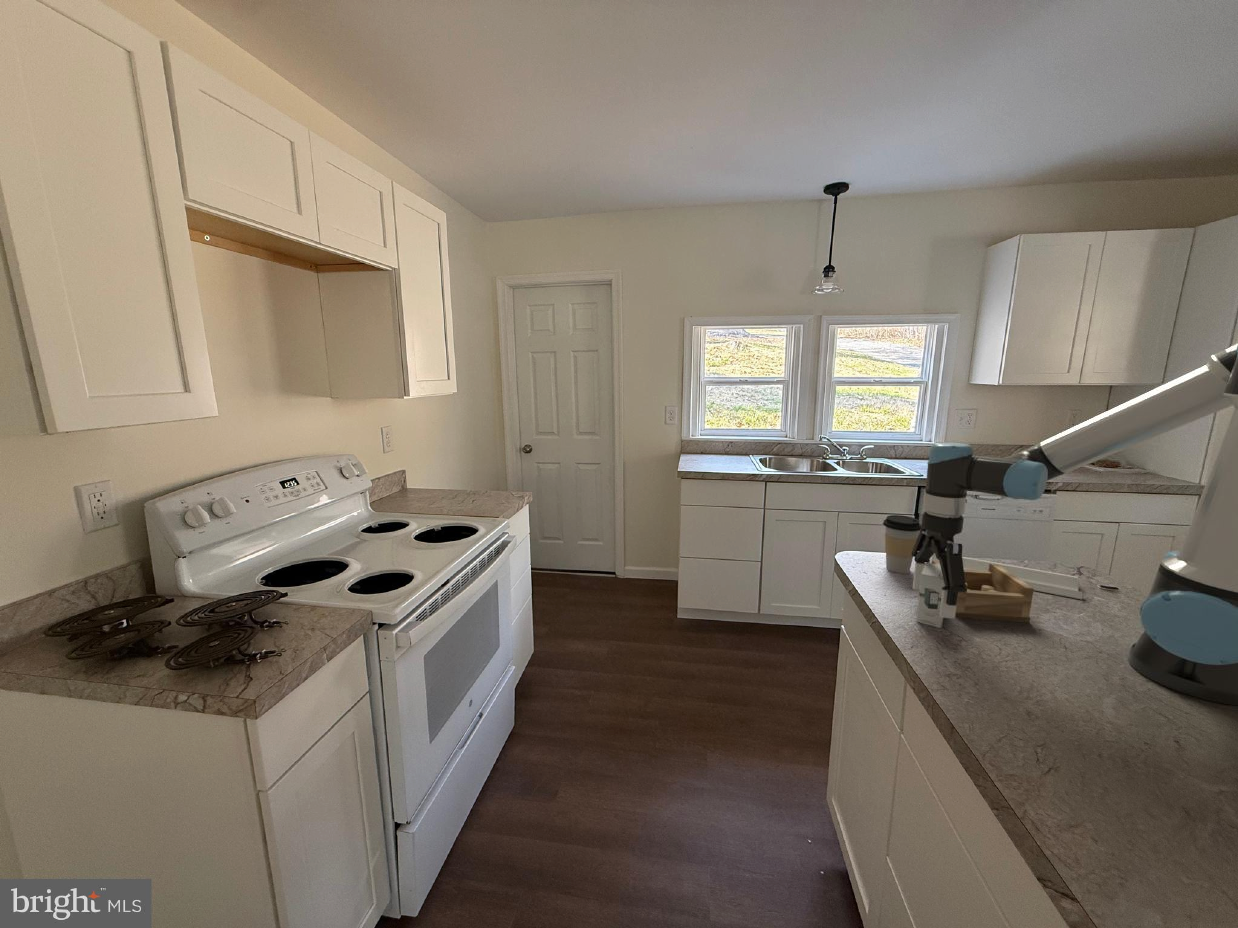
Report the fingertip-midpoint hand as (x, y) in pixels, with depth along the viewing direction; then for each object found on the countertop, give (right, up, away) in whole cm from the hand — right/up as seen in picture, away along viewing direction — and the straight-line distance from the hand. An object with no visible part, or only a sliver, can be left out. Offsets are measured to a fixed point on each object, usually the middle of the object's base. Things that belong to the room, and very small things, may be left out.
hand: (932, 602), depth 107 cm
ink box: (0, -4, +1) cm, 4 cm away
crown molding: (+33, 0, +22) cm, 39 cm away
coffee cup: (+8, +1, +27) cm, 28 cm away
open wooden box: (+14, -2, +6) cm, 16 cm away
